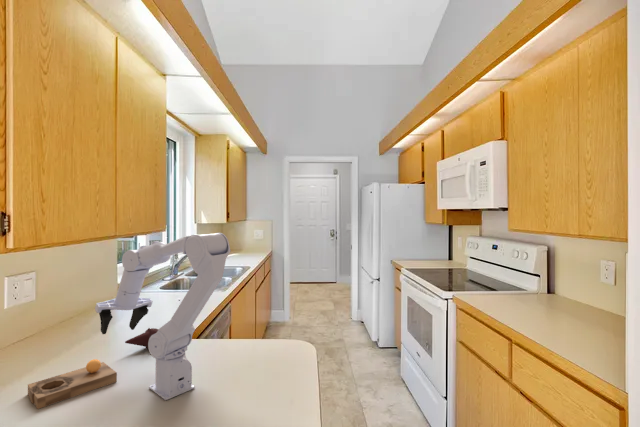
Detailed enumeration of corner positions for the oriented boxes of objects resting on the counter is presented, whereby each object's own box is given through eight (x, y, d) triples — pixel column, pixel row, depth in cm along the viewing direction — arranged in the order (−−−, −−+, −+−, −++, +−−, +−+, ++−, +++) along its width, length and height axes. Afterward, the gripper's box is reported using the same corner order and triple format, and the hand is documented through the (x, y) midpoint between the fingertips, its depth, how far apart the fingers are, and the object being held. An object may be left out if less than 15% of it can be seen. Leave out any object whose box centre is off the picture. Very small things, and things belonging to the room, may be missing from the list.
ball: (102, 371, 93) (102, 359, 93) (88, 376, 91) (88, 363, 91) (98, 368, 96) (98, 356, 96) (84, 372, 93) (84, 360, 93)
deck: (116, 381, 93) (116, 372, 93) (36, 409, 80) (36, 399, 80) (103, 370, 100) (103, 361, 100) (26, 394, 86) (26, 384, 86)
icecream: (129, 338, 108) (178, 331, 118) (124, 326, 113) (171, 321, 123) (125, 358, 109) (174, 350, 119) (121, 345, 114) (168, 338, 124)
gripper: (150, 280, 105) (138, 318, 107) (97, 282, 93) (84, 325, 96) (159, 292, 101) (147, 331, 103) (105, 296, 89) (92, 340, 91)
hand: (117, 329), depth 99 cm, fingers open, 7 cm apart
